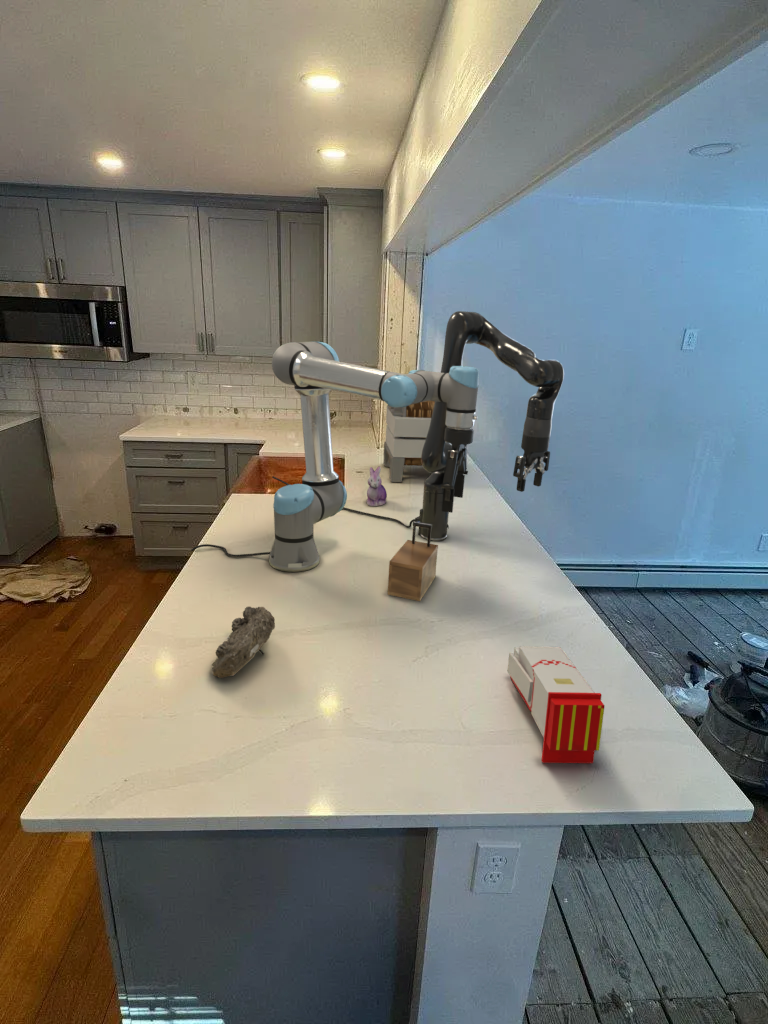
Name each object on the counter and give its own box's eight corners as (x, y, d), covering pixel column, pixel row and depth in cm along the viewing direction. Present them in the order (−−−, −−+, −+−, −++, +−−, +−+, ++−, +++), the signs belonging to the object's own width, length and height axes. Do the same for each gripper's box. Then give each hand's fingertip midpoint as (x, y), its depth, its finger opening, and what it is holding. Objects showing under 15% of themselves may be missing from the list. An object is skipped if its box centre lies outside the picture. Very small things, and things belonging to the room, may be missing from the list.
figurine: (371, 508, 224) (372, 471, 219) (360, 500, 232) (361, 464, 227) (392, 505, 228) (394, 469, 223) (380, 497, 236) (382, 462, 231)
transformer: (382, 463, 289) (386, 382, 275) (445, 464, 293) (451, 384, 279) (390, 482, 257) (394, 392, 243) (460, 483, 261) (468, 394, 247)
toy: (556, 628, 125) (614, 701, 96) (551, 684, 128) (605, 771, 99) (502, 627, 125) (543, 700, 95) (497, 683, 128) (536, 770, 98)
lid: (407, 543, 169) (409, 517, 167) (438, 548, 166) (440, 523, 164) (389, 564, 154) (390, 537, 152) (422, 571, 151) (424, 543, 149)
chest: (405, 571, 172) (407, 543, 169) (435, 576, 169) (437, 549, 166) (387, 594, 157) (389, 565, 154) (420, 601, 154) (422, 571, 151)
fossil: (228, 609, 137) (273, 580, 132) (255, 636, 140) (300, 609, 135) (192, 672, 118) (244, 640, 113) (224, 701, 121) (275, 672, 116)
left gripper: (464, 438, 136) (456, 520, 143) (481, 420, 158) (474, 493, 166) (434, 434, 138) (428, 516, 145) (455, 418, 161) (449, 489, 168)
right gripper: (539, 428, 166) (531, 481, 171) (510, 433, 157) (503, 489, 162) (562, 433, 161) (553, 487, 166) (533, 438, 152) (525, 496, 157)
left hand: (452, 504), depth 156 cm, fingers open, 13 cm apart
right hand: (528, 488), depth 164 cm, fingers open, 8 cm apart
